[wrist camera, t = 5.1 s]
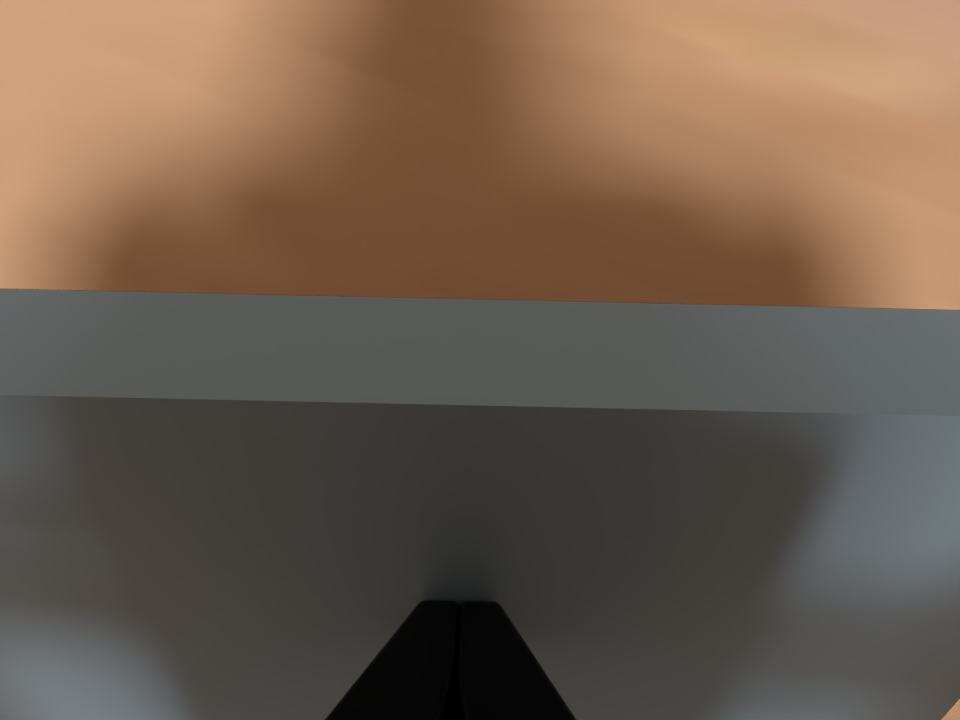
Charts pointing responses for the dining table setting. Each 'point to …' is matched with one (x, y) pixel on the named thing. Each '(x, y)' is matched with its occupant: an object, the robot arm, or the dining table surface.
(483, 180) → the dining table surface
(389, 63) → the dining table surface
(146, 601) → the grey rectangular slab
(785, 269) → the dining table surface
